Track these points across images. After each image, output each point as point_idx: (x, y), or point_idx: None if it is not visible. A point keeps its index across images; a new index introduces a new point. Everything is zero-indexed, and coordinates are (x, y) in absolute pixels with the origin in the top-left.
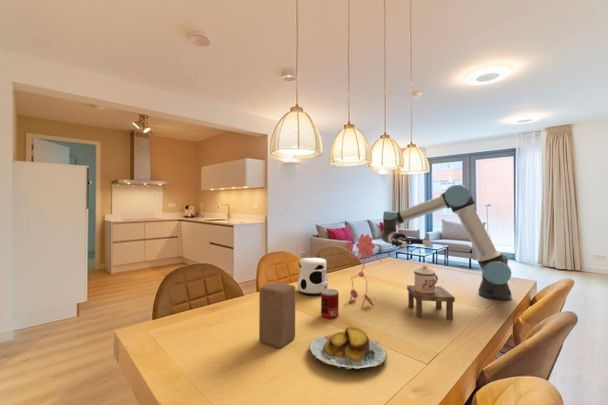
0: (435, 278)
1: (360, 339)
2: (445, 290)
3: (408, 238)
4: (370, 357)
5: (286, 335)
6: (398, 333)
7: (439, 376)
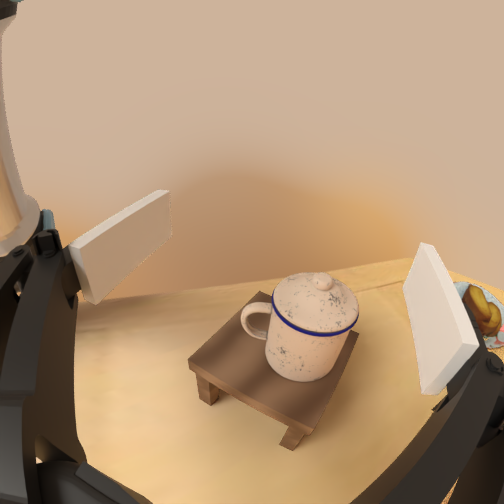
0: (245, 321)
1: (475, 292)
2: (222, 329)
3: (32, 473)
4: None
5: None
6: (408, 338)
7: (398, 268)
